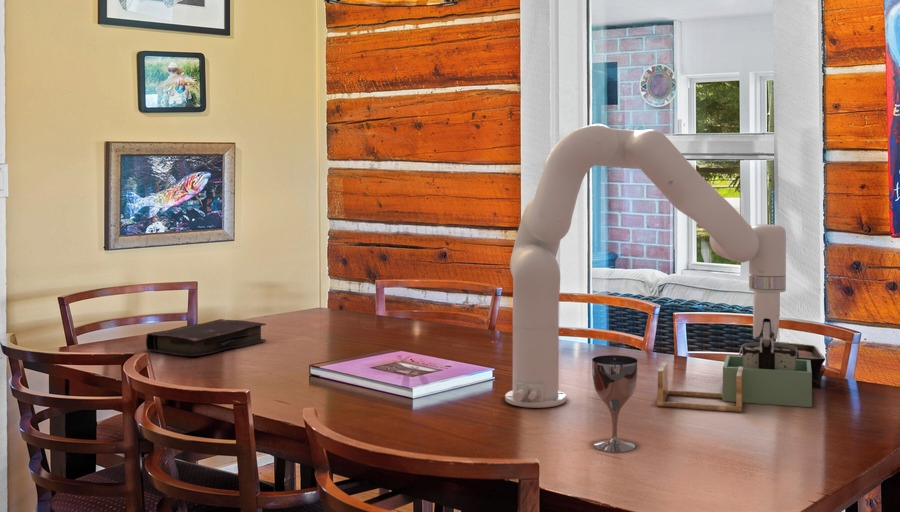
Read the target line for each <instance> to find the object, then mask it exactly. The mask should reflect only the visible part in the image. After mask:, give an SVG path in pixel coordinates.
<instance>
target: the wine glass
mask: <svg viewBox="0 0 900 512" xmlns="http://www.w3.org/2000/svg"><path fill="white" fill-rule="evenodd" d="M638 364H639V362H638V359H637V358H635V357H632V356H628V355H618V354H616V355H615V354H609V355H607V354H606V355H597V356H595V357H593V358H592V359H591V372H592V373H591V375H592V382H593V387H594V390H595V393H596V394H597V395H598V397H599V398H600V399H601V401H602V402H603V403H604V404H605V406H606V407H607V408H608V410H609V413H610V417H611V427H612V429H611V430H612V433H611V434H612V436H611V438H610V439H602V440H598V441H596V442H594V444H593V445H594V448H595V449H597V450H598V451H599V450H600V451H603V452H608V453H626V452H630V451H633V450H634V449H635V448H636V445H635V444H634V443H633V442H631V441H628V440H623V439H619V438H618V422H619V420H618V419H619V415H620V412H621V409H622V408H623V407H624V405H625V404H626V403H627V402H628V401H629V400H630V398H631V397H632V396H633V394H634V392H635V390H636V385H637V381H638V380H637V379H638V369H639V365H638Z"/></svg>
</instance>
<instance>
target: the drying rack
mask: <svg viewBox="0 0 900 512" xmlns="http://www.w3.org/2000/svg"><path fill="white" fill-rule="evenodd" d="M743 368H744V367H739V368H738V372H737V376H736V402H735V404H736V405H735V406H734V405H733V406H731V405H718V404H703V403H689V402H677V401H676V402H675V401H666V400H667V398H668V395H669V396H682V397H697V398H709V399H723V392H721V393H720V392H707V391H706V392H704V391H694V390H693V391H690V390H677V389H676V390H675V389H669V379H668V378H669V375H668V374H669V362H667V361H663V362H661V365H660V367H659V368H658V370H657V401H656V406H657V407H666V408H677V409H678V408H679V409H691V410H693V409H694V410H704V411H705V410H706V411H718V412H733V413H742V410H743V404H744V403H743Z"/></svg>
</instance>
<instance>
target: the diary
mask: <svg viewBox="0 0 900 512" xmlns="http://www.w3.org/2000/svg"><path fill="white" fill-rule="evenodd" d="M266 325H267V323H265V322H256V321H251V320H240V319H223V318H220V319H214V320H211V321H207V322H203V323H196V324H189V325H184V326H178V327H176V328H171V329H166V330H160V331H153V332H148V333H147V334H146V337H145V347H146V351H147V352H154V353H162V354H167V355H168V354H169V355H174V356H183V357H198V356H203V355H209V354H214V353H215V354H216V353H219V352H222V351H225V350H229V349H235V348H243V347H249V346H252V345H256V344H260V343H262V342H266V341H267V339H264V338H262V326H263V327H264V326H266Z"/></svg>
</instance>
